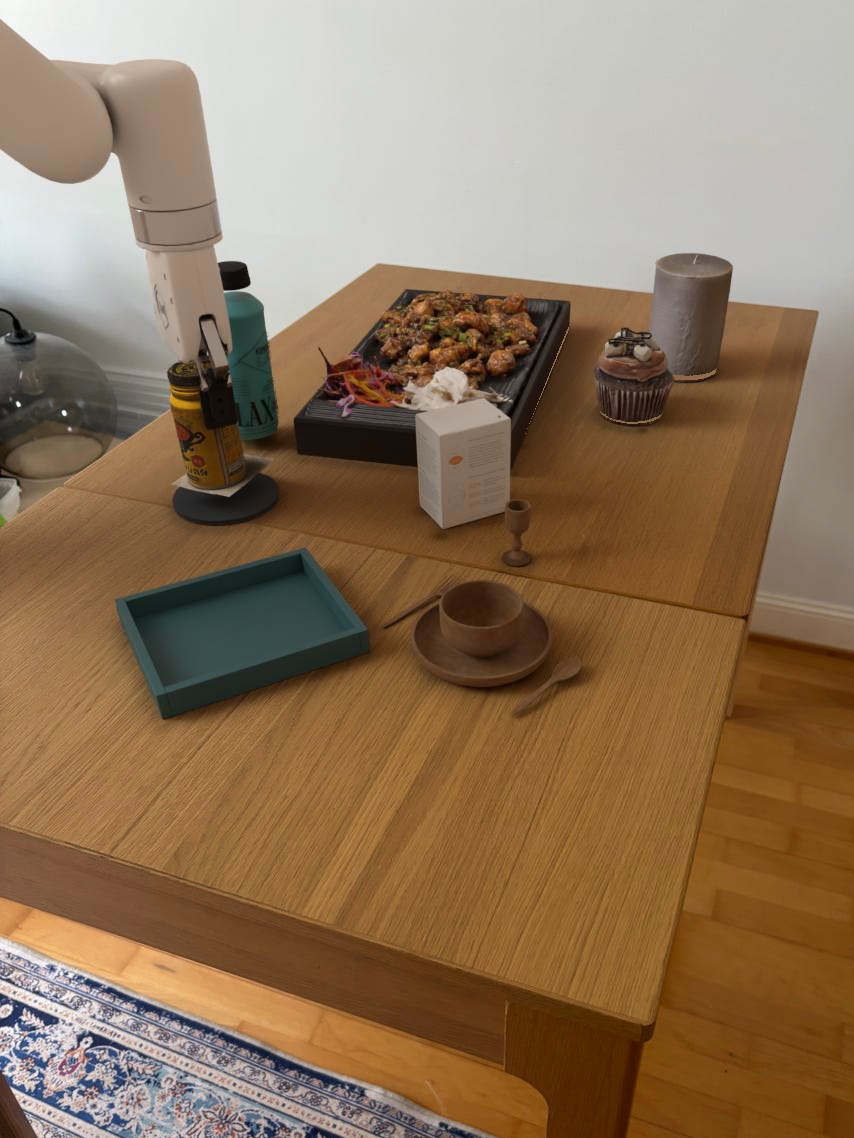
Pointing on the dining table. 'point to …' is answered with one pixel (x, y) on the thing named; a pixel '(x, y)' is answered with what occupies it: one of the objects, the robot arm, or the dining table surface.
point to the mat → (227, 503)
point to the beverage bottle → (249, 356)
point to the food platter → (433, 372)
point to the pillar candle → (690, 311)
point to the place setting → (487, 627)
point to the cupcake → (632, 378)
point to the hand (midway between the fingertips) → (211, 411)
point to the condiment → (207, 440)
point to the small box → (463, 462)
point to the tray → (239, 630)
